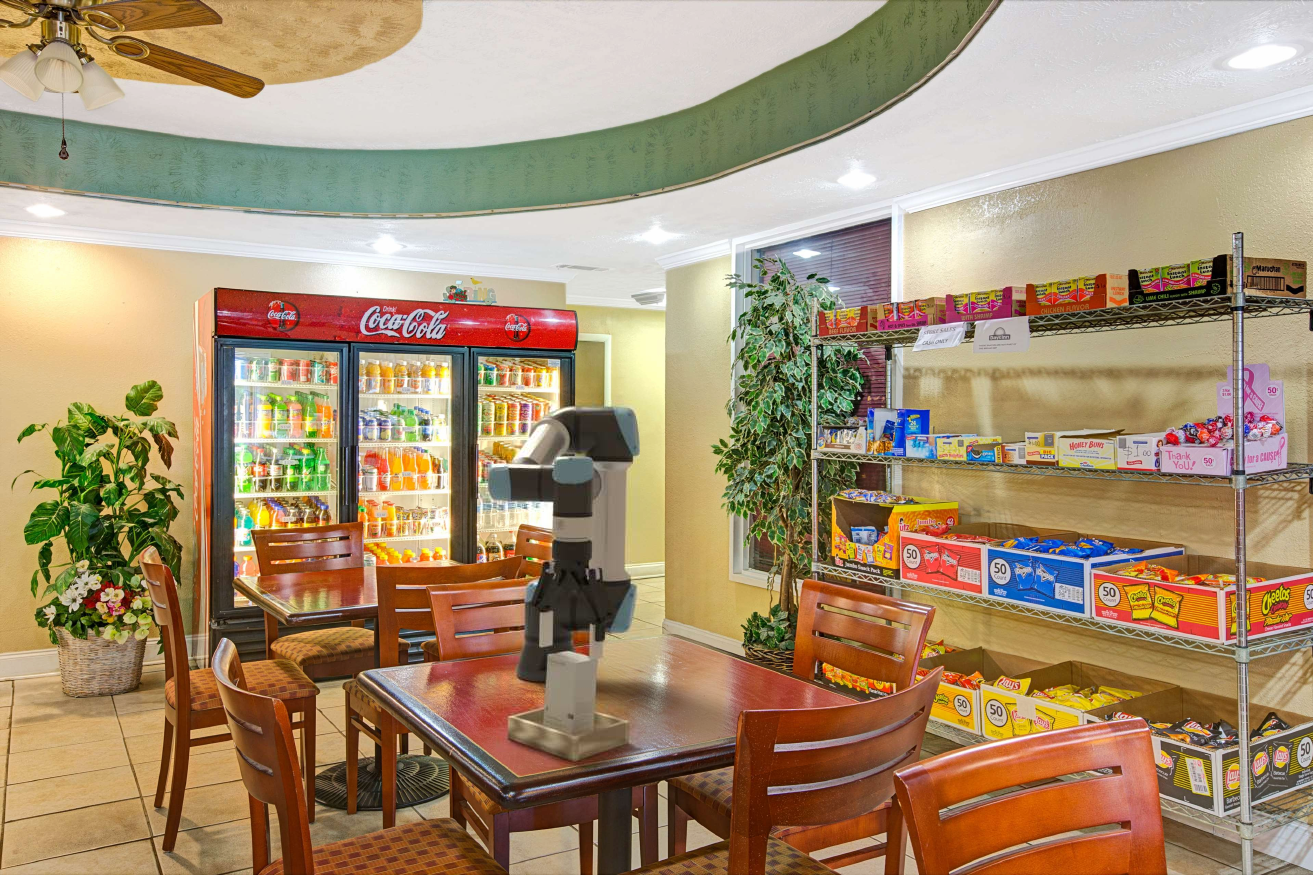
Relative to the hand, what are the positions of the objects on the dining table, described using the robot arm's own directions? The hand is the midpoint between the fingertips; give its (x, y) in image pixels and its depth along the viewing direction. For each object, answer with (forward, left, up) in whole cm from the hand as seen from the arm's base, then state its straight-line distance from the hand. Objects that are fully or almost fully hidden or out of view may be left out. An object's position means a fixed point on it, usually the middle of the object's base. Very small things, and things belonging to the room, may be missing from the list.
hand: (570, 652), depth 167 cm
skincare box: (+1, 0, -16) cm, 16 cm away
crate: (0, 0, -16) cm, 16 cm away
